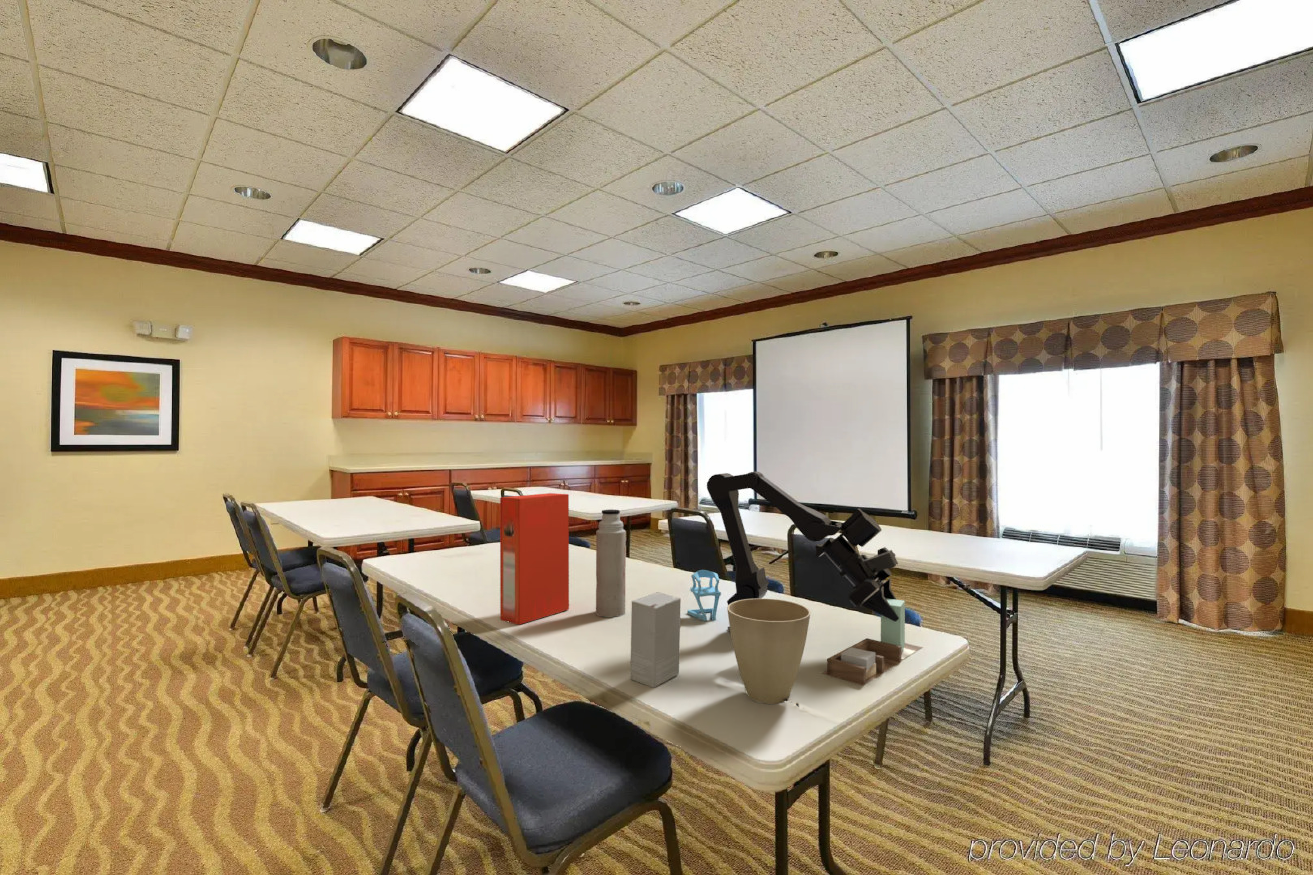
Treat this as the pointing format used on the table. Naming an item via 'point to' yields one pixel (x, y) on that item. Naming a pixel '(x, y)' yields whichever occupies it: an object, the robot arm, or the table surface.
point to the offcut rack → (884, 660)
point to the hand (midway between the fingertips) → (899, 616)
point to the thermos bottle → (610, 565)
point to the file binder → (534, 556)
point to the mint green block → (894, 625)
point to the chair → (704, 594)
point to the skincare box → (655, 638)
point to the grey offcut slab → (858, 657)
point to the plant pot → (768, 645)
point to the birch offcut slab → (871, 671)
